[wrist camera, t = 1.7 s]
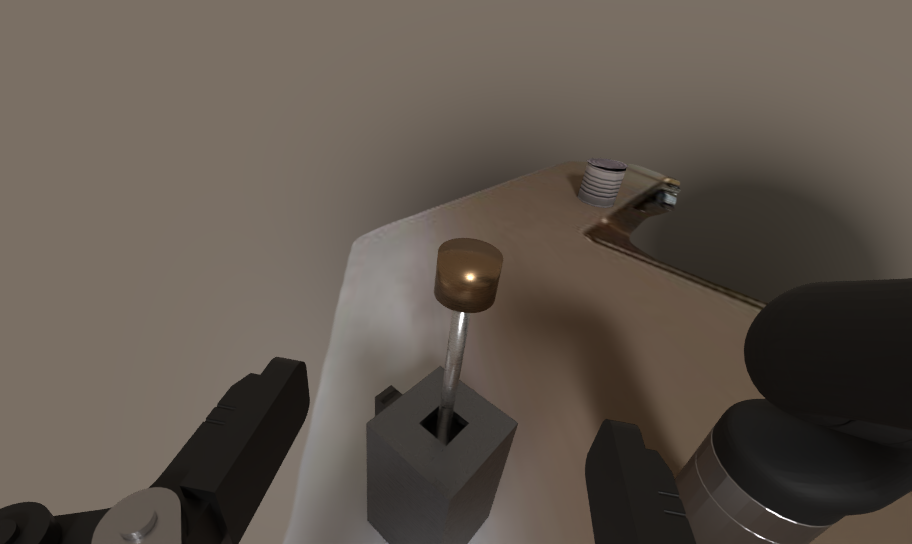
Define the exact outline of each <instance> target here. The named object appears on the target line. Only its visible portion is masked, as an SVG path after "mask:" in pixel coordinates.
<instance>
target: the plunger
mask: <svg viewBox="0 0 912 544" xmlns="http://www.w3.org/2000/svg"><path fill="white" fill-rule="evenodd" d="M502 263H503V256H502V254H501V252H500V251H499V250H498V249H497V248H496V247H494V246H493V245H491V244H489V243H487V242H484V241H481V240H477V239H470V238H458V239H452V240H449V241H446V242H444V243H443V244H442V245H441V246H440V247H439V250H438V258H437V268H436V277H435V287H434V295H435V297H436V299H437V300H438V301H439V302H440V303H441V304H442V305H443V306H445V307H447V308H449V309H451V310H453V314H452V321H451V328H450V335H449V342H448V349H447V356H446V363H445V370H444V377H443V384H442V391H441V398H440V405H439V411H438V412H437V413H436V414H435V415H434V416H432V417H431V418H430V419H429V420H428V421H427V422H426V423H425V424H423V425H422V426H423V427H424V428H425V429H426V430H427V431H428V432H430V433H431V434H432V435H433V436H434V437H435V438H437V439H438V440H439V441H440V442H441V443H442V444H444V445H445V446H447V445H448V444H449V443H450V442H451V441H452V440H453V439H454V438H455V437H456V436H457V435H458V434H459V433H460V432H461V431H462V430H463V429H464V428H465V426H464V425H462V424H461V423H460V422H459V421H457V420H456V419H455V418H454V417H453V412H454V406H455V400H456V394H457V389H458V383H459V377H460V371H461V366H462V360H463V354H464V348H465V342H466V337H467V331H468V325H469V319H470V314H471V313H477V312H481V311H484V310H487V309H488V308H490V307H491V306H492V305H493V303H494V301H495V297H496V292H497V287H498V282H499V278H500V273H501V268H502Z"/></svg>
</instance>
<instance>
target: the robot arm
mask: <svg viewBox="0 0 912 544" xmlns="http://www.w3.org/2000/svg"><path fill="white" fill-rule="evenodd" d="M744 357H745V364H746V367H747V371H748V373H749V376H750V378H751V380H752V382H753V384H754V385H755V386H756V388H757V389H758V391H759V392H760V393H761V394H762V395H763V396H764V397H765V398H766V399H751V400H745V401H741V402H738V403H736V404H734V405H733V406H731V407H730V408H729V409H727V410H726V412H725V413H724V414H723V415H722V416H721V418H720V419H719V421H718V422H717V423H716V425H715V426H714V427H713V429H712V430H711V431H710V433H709V434H708V435H707V437H706V438H705V439H704V441H703V442H702V443H701V445H700V446H699V447H698V449H697V450H696V451H695V453H694V454H693V455H692V457H691V458H690V459H689V461H688V462H687V463H686V465H685V466H684V467H683V469H682V470H681V471H680V473H679V474H678V475H677V477H676V478H675V479H674V477H673V474H672V471H671V470H670V469H669V467H668V466H667V464H666V463H665V462H664V460H663V459H662V457H661V456H660V455H659V453H658V452H657V451H655V450H650V449H645V445H644V442H643V439H642V435H641V432H640V429H639V428H638V426H637V425H635V424H630V423H625V422H619V421H614V420H608V419H605V420H604V421H603V423H602V425H601V427H600V429H599V431H598V433H597V435H596V437H595V439H594V441H593V444H592V446H591V448H590V450H589V452H588V454H587V458H586V465H585V478H586V485H587V492H588V498H589V505H590V512H591V519H592V526H593V532H594V539H595V544H809V543H810V542H811V541H813V540H814V539H815V538H816V537H818V536H819V535H820V534H822V533H823V532H824V531H825V530H827V529H828V528H829V527H830V526H832V525H833V524H834V523H836V522H838V521H839V520H840V519H842V518H843V517H844V516H847V515H858V514H866V513H870V512H874V511H877V510H880V509H882V508H884V507H886V506H888V505H889V504H891V503H893V502H894V501H896V500H898V499H899V498H901V497H902V496H904V495H906V494H907V493H909V492H910V491H912V278H909V279H890V280H866V281H836V282H818V283H810V284H805V285H802V286H799V287H796V288H793V289H791V290H789V291H787V292H785V293H783V294H781V295H779V296H778V297H776V298H775V299H774V300H772V301H771V302H770V303H769V304H768V305H767V306H766V307H764V308H763V309H762V310H761V311H760V313H759V314H758V315H757V316H756V318H755V319H754V321H753V322H752V324H751V326H750V328H749V330H748V333H747V336H746V339H745V345H744ZM309 403H310V397H309V388H308V379H307V370H306V364H305V362H302V361H297V360H291V359H286V358H280V357H275V358H273V359H272V360H271V361H270V363H269V364H268V365H267V367H266V368H265V369H264V371H263V372H262V373H261V375H258V374H253V373H250V374H249V375H247V376H246V377H244V378H243V379H241V380H240V381H238V382H237V383H236V384H234V385H233V386H231V387H230V389H229V390H228V391H227V392H226V394H225V395H224V396H223V398H222V399H221V400H220V401H219V403H218V405H217V407H215V408H214V409H213V410H212V411H211V413H210V414H209V415H208V417H207V418H206V421H205V422H203V423H202V424H201V425H200V426H199V428H198V429H197V430H196V432H195V433H194V434H193V435H192V437H191V438H190V439H189V440H188V442H187V443H186V444H185V445H184V447H183V448H182V449H181V451H180V452H179V453H178V454H177V456H176V457H175V458H174V459H173V461H172V462H171V463H170V464H169V466H168V467H167V468H166V470H165V471H164V472H163V473H162V474H161V476H160V477H159V478H158V479H157V480H156V481H155V482H154V483H153V484H152V485H151V486H150V487H149V488H147V489H144V490H141V491H138V492H135V493H133V494H131V495H129V496H127V497H126V498H124V499H122V500H121V501H120V502H118V503H117V504H116V505H114V506H113V507H112V508H108V509H102V510H95V511H88V512H81V513H74V514H66V515H58V516H53V515H52V514H51V513H50V511H49V510H48V509H47V508H46V507H45V506H44V505H42V504H40V503H36V502H23V503H18V504H13V505H10V506H7V507H4V508H2V509H0V544H239V542H240V540H241V538H242V536H243V535H244V532H245V531H246V529H247V527H248V525H249V523H250V521H251V520H252V518H253V516H254V514H255V512H256V510H257V508H258V507H259V505H260V503H261V501H262V499H263V497H264V496H265V494H266V492H267V490H268V488H269V486H270V484H271V483H272V481H273V479H274V477H275V475H276V473H277V471H278V470H279V468H280V466H281V464H282V462H283V460H284V458H285V456H286V455H287V453H288V451H289V449H290V447H291V445H292V444H293V441H294V440H295V438H296V436H297V434H298V432H299V430H300V429H301V427H302V425H303V423H304V421H305V419H306V416H307V413H308V408H309Z"/></svg>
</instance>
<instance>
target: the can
mask: <svg viewBox="0 0 912 544" xmlns="http://www.w3.org/2000/svg"><path fill="white" fill-rule="evenodd" d="M627 167H628V165H626V164H624V163H622V162H619V161H614V160H609V159H594V158H592V159H589V160H588V164H587V167H586V170H585V174H584V177H583V180H582V184H581V187H580V190H579V194H578V198H579V199H580V200H581V201H582V202H584V203H587V204H589V205H592V206H596V207H603V208H607V207H612V206H613V205H614V202H615V199H616V196H617V193H618V191H619V188H620V185H621V182H622V179H623V177H624V174H625V171H626V168H627Z"/></svg>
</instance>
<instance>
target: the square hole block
mask: <svg viewBox="0 0 912 544" xmlns="http://www.w3.org/2000/svg"><path fill="white" fill-rule="evenodd" d="M444 370H445V369H444V368H442V367H441V366H440V367H438V368H437V369H436V370H435V371H433V372H432V373H431V374H429V375H428V376H427V377H426V378H424V379H423V380H422V381H420V382H419V383H418V384H417V385H415V386H414V387H413V388H411V389H410V390H409V391H407V392H406V393H405V394H404V395H402V394H401V393H400V392H399V391H398V390H396V389H395V388H394V387H393V386H389V387H388V388H387V389H385V390H384V391H383V392H381V393H380V394H379V395H377V396H376V397H375V417H374V418H373V419H371V420H370V421H369V422H368V423H367V518H368V521H369V522H370V524H371V525H372V526H373V527H374V528H375V529H376V530H377V531H378V532H379V534H380V535H381V536H382V537H383V538H384V539H385V540H386V541H387V542H388V544H468V543H469V541H470V540H471V539H472V537H473V536H474V535H475V533H476V532H477V531H478V529H479V528H480V527H481V526H482V524H483V523H484V522H485V520H486V519H487V518H488V516H489V513H490V510H491V507H492V504H493V501H494V498H495V494H496V491H497V488H498V485H499V482H500V479H501V475H502V472H503V469H504V466H505V463H506V460H507V457H508V453H509V450H510V447H511V444H512V441H513V438H514V435H515V431H516V428H517V425H518V423H517V422H516V421H515V420H513V419H512V418H511V417H509V416H508V415H506V414H505V413H504V412H502V411H501V410H500V409H498V408H497V407H496V406H494V405H493V404H491V403H490V402H489V401H487V400H486V399H485V398H483V397H482V396H480V395H479V394H478V393H476V392H475V391H474V390H472V389H471V388H470V387H468V386H467V385H465V384H464V383H463V382H461V381H460V380H459V383H458V389H457V394H456V400H455V406H454V412H453V417H454V418H455V419H456V420H457V421H459V422H460V423H461V424H462V425H464V426H465V428H464V429H463V430H462V431H461V432H460V433H459V434H458V435H457V436H456V437H455V438H454V439H453V440H452V441H451V442H450V443H449V444H448V445H447V446H445V445H444V444H442V443H441V442H440V441H439V440H438V439H437V438H435V437H434V436H433V435H432V434H431V433H430V432H428V431H427V430H426V429H425V428H424V427H423V426H422V425H423V424H425V423H426V422H427V421H428V420H429V419H430V418H431V417H432V416H434V415H435V414H436V413H437V412H438V411H439V405H440V398H441V391H442V384H443V377H444Z"/></svg>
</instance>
